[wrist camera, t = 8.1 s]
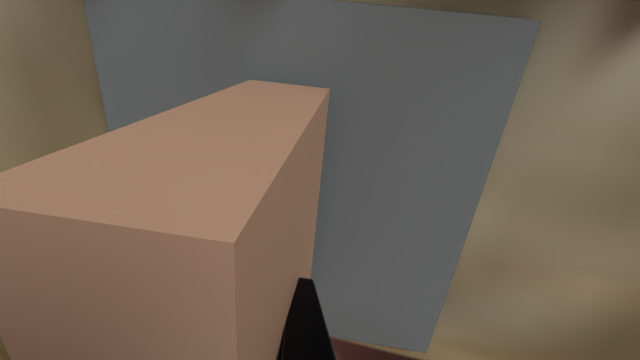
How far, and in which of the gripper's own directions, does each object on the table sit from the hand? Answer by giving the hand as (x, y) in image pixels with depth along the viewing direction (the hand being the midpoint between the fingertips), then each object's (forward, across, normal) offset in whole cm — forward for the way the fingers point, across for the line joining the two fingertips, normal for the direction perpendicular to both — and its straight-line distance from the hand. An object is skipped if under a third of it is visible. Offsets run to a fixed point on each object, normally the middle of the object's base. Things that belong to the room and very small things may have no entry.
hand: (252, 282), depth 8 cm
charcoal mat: (+5, 0, 0) cm, 5 cm away
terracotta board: (+4, 0, 0) cm, 4 cm away
